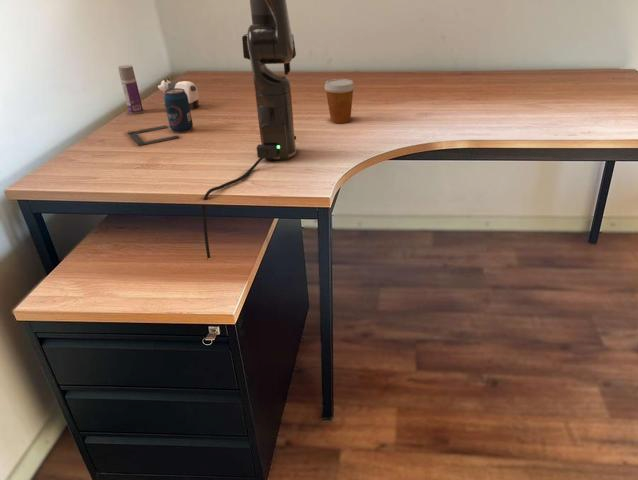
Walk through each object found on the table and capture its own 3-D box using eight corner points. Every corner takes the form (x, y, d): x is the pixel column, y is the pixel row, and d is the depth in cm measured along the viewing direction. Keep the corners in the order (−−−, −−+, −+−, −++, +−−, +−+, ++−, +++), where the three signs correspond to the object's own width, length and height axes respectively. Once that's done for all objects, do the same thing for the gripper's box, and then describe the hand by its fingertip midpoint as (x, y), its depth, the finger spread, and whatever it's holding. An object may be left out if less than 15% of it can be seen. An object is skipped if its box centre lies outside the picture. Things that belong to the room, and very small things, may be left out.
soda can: (166, 132, 168) (157, 93, 162) (177, 125, 174) (170, 87, 167) (186, 134, 167) (178, 94, 160) (197, 127, 172) (190, 88, 166)
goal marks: (165, 126, 174) (165, 125, 174) (179, 138, 164) (179, 137, 164) (127, 133, 168) (127, 132, 168) (139, 146, 159) (138, 145, 159)
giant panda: (202, 106, 192) (197, 78, 187) (194, 110, 188) (188, 81, 182) (167, 103, 196) (161, 75, 191) (157, 107, 191) (151, 79, 186)
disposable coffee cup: (339, 114, 182) (338, 76, 175) (361, 119, 176) (360, 81, 170) (319, 121, 176) (317, 83, 169) (342, 127, 170) (340, 87, 164)
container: (145, 109, 189) (134, 64, 181) (140, 114, 185) (130, 67, 177) (131, 110, 189) (120, 65, 181) (127, 114, 185) (115, 68, 177)
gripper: (235, 13, 143) (243, 77, 152) (289, 13, 142) (294, 77, 151) (242, 9, 149) (250, 71, 158) (293, 8, 148) (298, 70, 157)
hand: (271, 74), depth 154 cm, fingers open, 8 cm apart
